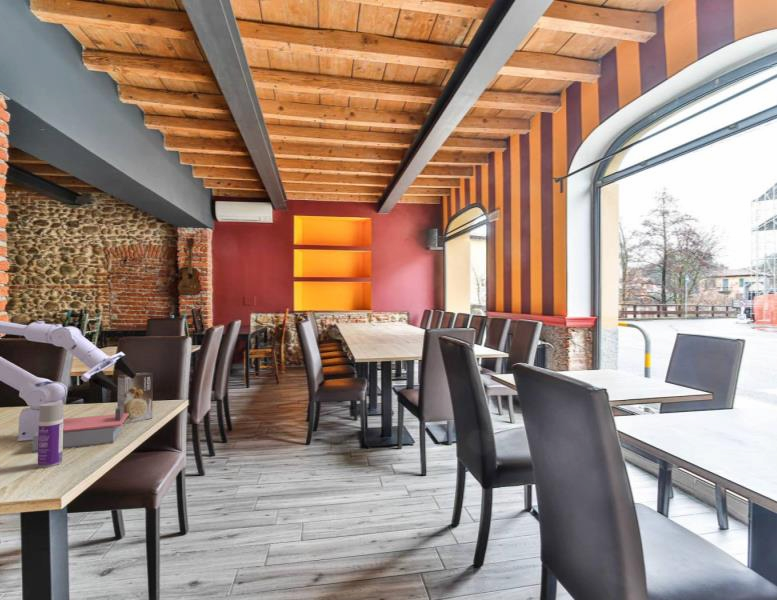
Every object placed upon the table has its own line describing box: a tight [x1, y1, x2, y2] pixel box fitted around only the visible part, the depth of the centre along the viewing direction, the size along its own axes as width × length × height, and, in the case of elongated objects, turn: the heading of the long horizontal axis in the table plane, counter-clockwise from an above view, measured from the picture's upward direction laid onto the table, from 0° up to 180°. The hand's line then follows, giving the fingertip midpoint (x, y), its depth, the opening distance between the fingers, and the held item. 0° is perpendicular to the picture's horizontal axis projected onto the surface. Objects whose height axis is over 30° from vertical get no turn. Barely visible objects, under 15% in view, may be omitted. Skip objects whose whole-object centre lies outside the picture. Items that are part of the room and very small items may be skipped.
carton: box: [32, 424, 123, 453], centre depth 115 cm, size 18×14×4 cm
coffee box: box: [117, 371, 154, 425], centre depth 137 cm, size 9×6×16 cm
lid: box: [63, 405, 129, 432], centre depth 116 cm, size 18×14×4 cm
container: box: [37, 401, 64, 468], centre depth 98 cm, size 5×5×15 cm
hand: (125, 382), depth 124 cm, fingers open, 7 cm apart
